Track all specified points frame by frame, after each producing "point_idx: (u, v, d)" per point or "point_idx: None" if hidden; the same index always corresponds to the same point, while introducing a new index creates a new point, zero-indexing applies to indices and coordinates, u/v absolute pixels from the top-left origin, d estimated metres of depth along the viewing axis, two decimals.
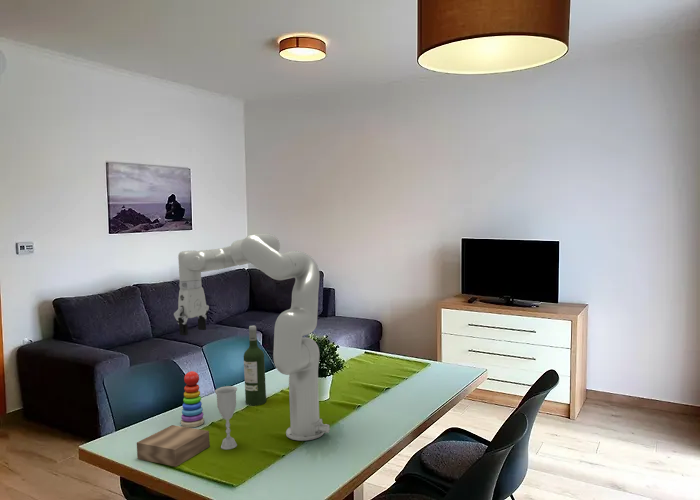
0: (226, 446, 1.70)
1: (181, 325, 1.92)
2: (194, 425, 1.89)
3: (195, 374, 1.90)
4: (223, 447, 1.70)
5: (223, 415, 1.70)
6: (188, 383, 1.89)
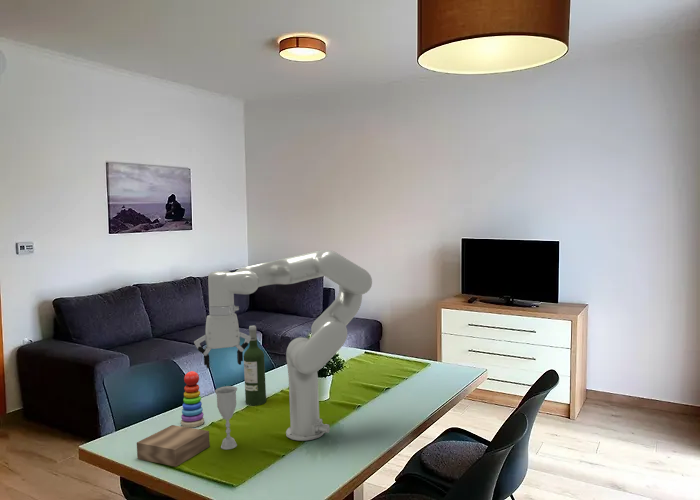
0: (226, 446, 1.70)
1: None
2: (194, 425, 1.89)
3: (195, 374, 1.90)
4: (223, 447, 1.70)
5: (223, 415, 1.70)
6: (188, 383, 1.89)
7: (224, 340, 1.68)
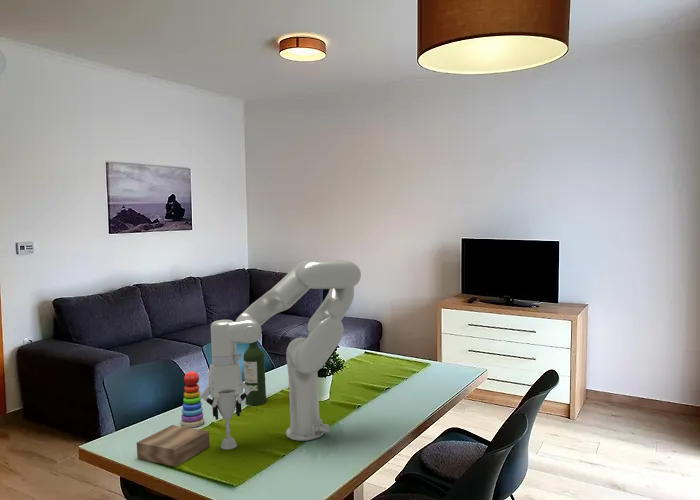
0: (226, 446, 1.70)
1: None
2: (194, 425, 1.89)
3: (195, 374, 1.90)
4: (223, 447, 1.70)
5: (223, 415, 1.70)
6: (188, 383, 1.89)
7: (227, 389, 1.69)
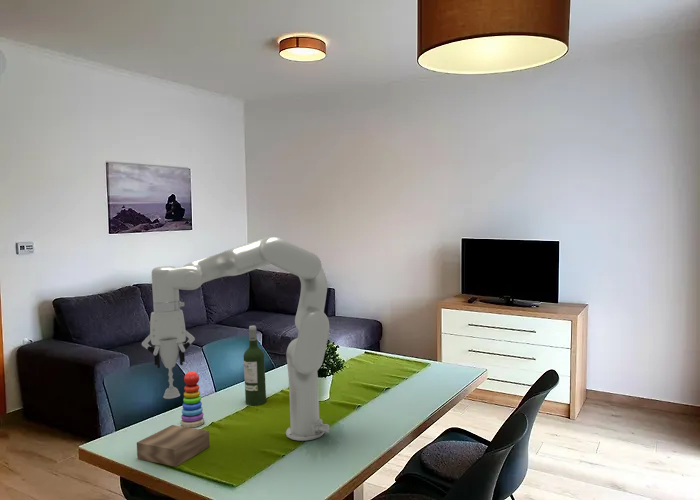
0: (168, 395, 1.65)
1: None
2: (194, 425, 1.89)
3: (195, 374, 1.90)
4: (165, 396, 1.66)
5: (165, 363, 1.65)
6: (188, 383, 1.89)
7: (168, 337, 1.64)
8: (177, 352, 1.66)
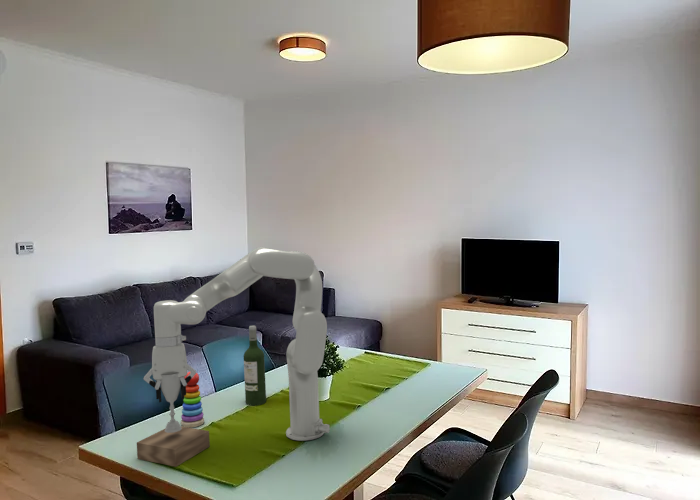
0: (169, 429, 1.66)
1: (185, 385, 1.69)
2: (194, 425, 1.89)
3: (195, 374, 1.90)
4: (167, 430, 1.66)
5: (166, 398, 1.66)
6: (188, 383, 1.89)
7: (170, 371, 1.65)
8: (179, 386, 1.67)
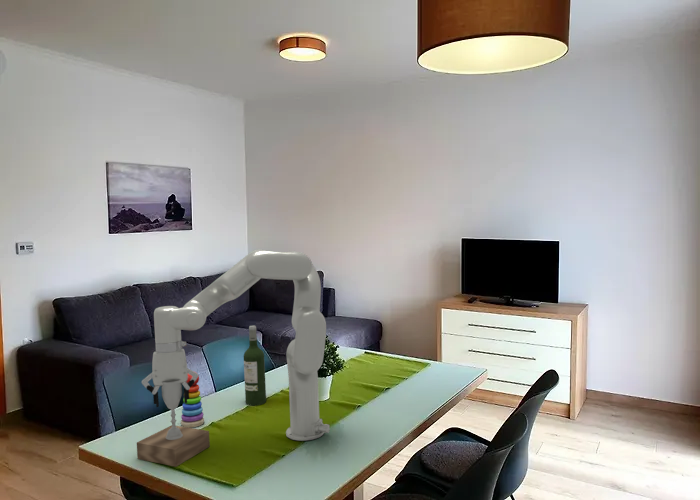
0: (170, 436, 1.66)
1: (188, 389, 1.70)
2: (194, 425, 1.89)
3: None
4: (168, 437, 1.66)
5: (168, 405, 1.66)
6: None
7: (170, 377, 1.65)
8: (180, 393, 1.67)
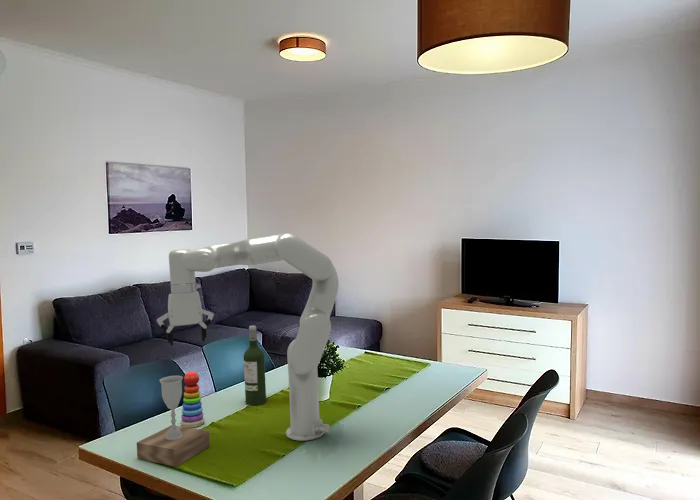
0: (170, 436, 1.66)
1: (205, 328, 1.75)
2: (194, 425, 1.89)
3: (195, 374, 1.90)
4: (168, 437, 1.66)
5: (168, 405, 1.66)
6: (188, 383, 1.89)
7: (186, 317, 1.70)
8: (180, 393, 1.67)
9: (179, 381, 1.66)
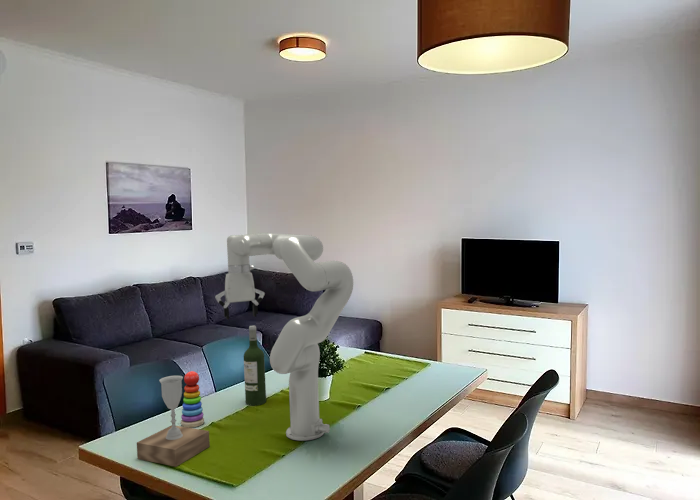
0: (170, 436, 1.66)
1: None
2: (194, 425, 1.89)
3: (195, 374, 1.90)
4: (168, 437, 1.66)
5: (168, 405, 1.66)
6: (188, 383, 1.89)
7: (241, 295, 1.93)
8: (180, 393, 1.67)
9: (179, 381, 1.66)
